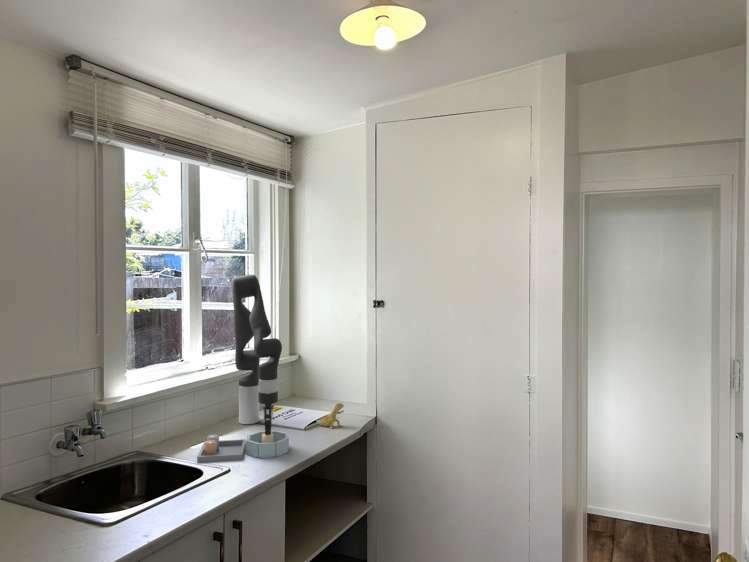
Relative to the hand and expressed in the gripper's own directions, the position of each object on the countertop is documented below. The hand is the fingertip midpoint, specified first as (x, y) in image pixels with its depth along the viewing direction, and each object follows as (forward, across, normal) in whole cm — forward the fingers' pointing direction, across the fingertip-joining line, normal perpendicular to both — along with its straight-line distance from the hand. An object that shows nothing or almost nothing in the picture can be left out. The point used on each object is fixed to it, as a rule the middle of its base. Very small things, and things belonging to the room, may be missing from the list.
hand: (268, 431), depth 206 cm
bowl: (+8, 0, 0) cm, 8 cm away
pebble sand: (+7, 0, 0) cm, 7 cm away
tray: (+8, 0, -17) cm, 19 cm away
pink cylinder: (+8, -3, -21) cm, 23 cm away
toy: (+8, -28, +26) cm, 39 cm away
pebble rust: (+7, +4, -21) cm, 23 cm away
